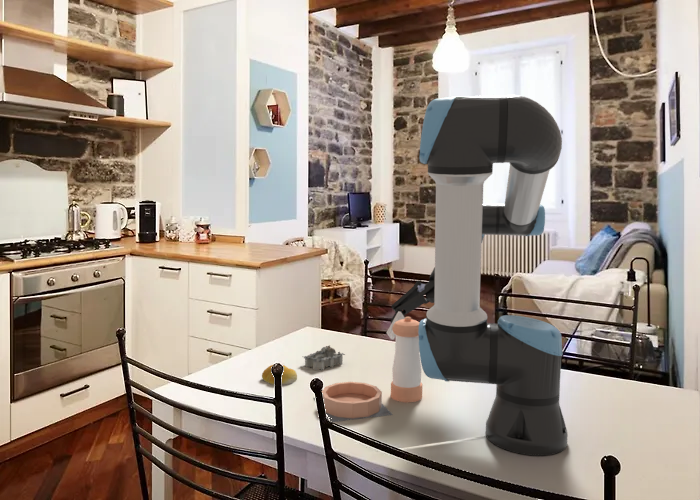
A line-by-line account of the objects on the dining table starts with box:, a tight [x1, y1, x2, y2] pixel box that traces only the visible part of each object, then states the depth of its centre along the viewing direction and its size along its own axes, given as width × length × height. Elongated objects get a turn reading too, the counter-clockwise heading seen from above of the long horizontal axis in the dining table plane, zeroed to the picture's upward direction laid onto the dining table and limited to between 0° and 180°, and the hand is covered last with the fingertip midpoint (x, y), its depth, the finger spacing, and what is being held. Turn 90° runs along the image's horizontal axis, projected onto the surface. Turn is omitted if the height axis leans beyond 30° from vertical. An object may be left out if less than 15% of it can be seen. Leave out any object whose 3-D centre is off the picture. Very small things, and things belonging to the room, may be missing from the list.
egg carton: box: [303, 344, 346, 371], centre depth 153 cm, size 11×8×4 cm
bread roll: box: [261, 364, 298, 386], centre depth 139 cm, size 8×9×4 cm
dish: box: [321, 381, 383, 418], centre depth 122 cm, size 13×13×3 cm
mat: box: [313, 397, 393, 423], centre depth 122 cm, size 14×14×1 cm
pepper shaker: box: [390, 316, 423, 403], centre depth 127 cm, size 7×7×19 cm
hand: (412, 341), depth 129 cm, fingers open, 13 cm apart
